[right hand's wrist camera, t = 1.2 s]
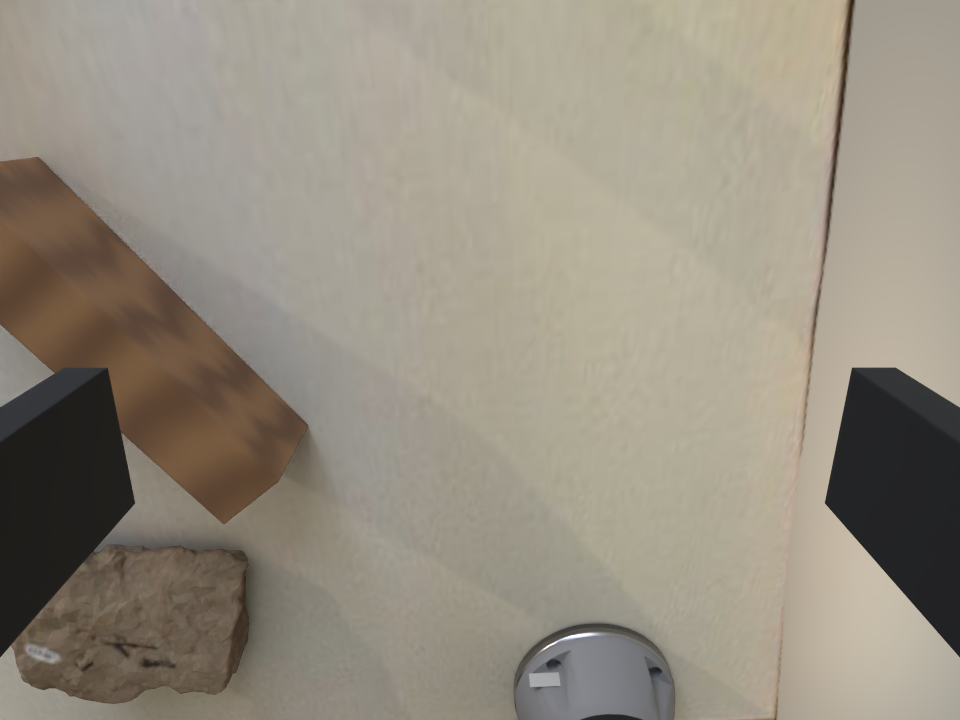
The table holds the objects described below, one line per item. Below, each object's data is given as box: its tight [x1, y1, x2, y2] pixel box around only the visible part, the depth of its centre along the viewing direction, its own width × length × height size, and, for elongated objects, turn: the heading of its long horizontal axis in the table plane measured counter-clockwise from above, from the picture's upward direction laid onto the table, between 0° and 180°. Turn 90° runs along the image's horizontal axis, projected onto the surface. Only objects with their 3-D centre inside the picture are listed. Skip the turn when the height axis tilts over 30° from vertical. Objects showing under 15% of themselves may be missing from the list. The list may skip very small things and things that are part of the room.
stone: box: [11, 545, 249, 704], centre depth 60 cm, size 21×15×6 cm
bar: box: [0, 157, 308, 524], centre depth 50 cm, size 28×6×9 cm, turn 39°
